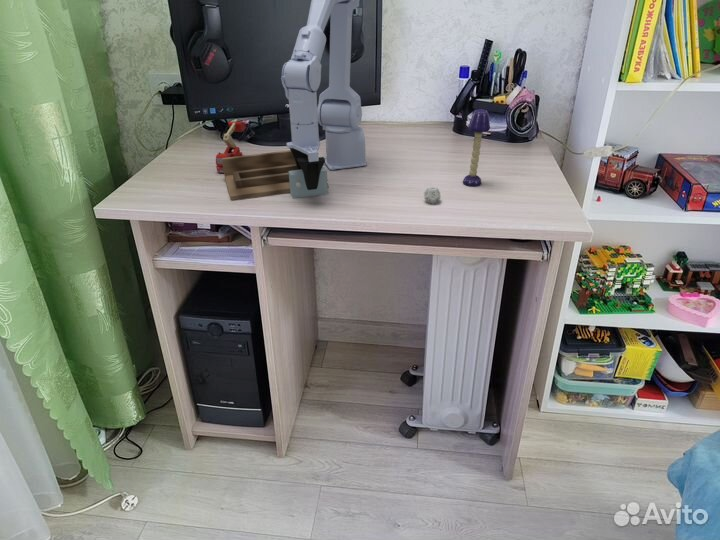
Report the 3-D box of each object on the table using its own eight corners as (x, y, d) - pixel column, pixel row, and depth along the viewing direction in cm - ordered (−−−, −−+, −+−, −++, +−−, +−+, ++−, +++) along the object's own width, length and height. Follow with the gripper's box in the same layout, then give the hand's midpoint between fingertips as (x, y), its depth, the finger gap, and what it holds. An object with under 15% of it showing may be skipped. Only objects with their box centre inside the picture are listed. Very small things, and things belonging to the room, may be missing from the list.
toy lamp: (485, 181, 126) (493, 108, 118) (482, 188, 123) (490, 114, 114) (464, 178, 128) (470, 107, 119) (460, 186, 124) (467, 112, 115)
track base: (314, 167, 136) (313, 147, 133) (328, 187, 124) (327, 166, 122) (224, 178, 130) (221, 158, 128) (231, 200, 119) (228, 179, 116)
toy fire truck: (215, 174, 133) (209, 135, 128) (237, 155, 145) (232, 118, 140) (228, 174, 132) (222, 135, 127) (249, 156, 144) (245, 119, 139)
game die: (443, 203, 116) (444, 190, 115) (427, 206, 115) (428, 193, 113) (435, 197, 119) (436, 184, 117) (420, 200, 118) (420, 187, 116)
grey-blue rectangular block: (325, 189, 124) (324, 166, 121) (328, 194, 121) (327, 171, 118) (290, 194, 122) (288, 171, 119) (293, 199, 119) (291, 176, 116)
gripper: (278, 114, 118) (284, 173, 125) (292, 132, 106) (297, 197, 113) (310, 111, 120) (314, 170, 127) (327, 129, 108) (330, 193, 115)
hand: (308, 182), depth 120 cm, fingers open, 7 cm apart
